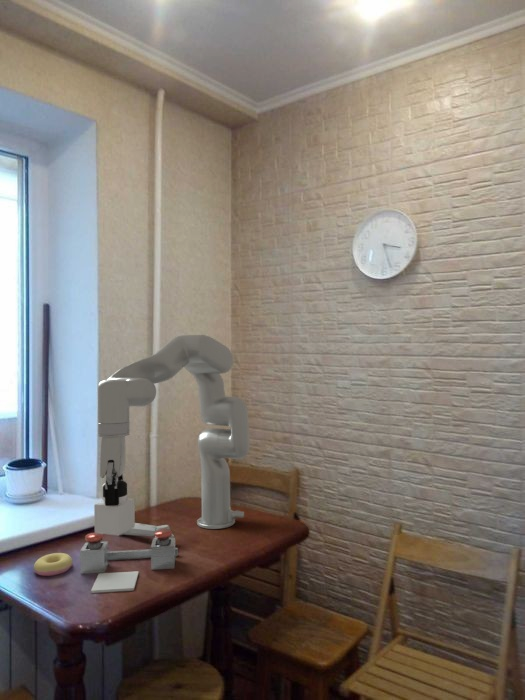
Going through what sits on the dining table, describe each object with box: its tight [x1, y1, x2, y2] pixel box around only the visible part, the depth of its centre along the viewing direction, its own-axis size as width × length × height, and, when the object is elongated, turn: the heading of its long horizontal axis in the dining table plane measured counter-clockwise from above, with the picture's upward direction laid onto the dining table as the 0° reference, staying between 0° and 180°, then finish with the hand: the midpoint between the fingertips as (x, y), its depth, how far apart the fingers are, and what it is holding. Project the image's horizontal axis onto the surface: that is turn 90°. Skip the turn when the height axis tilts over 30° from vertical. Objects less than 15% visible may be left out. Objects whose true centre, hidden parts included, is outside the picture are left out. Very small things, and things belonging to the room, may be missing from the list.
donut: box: [33, 552, 73, 577], centre depth 142 cm, size 10×5×9 cm
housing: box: [79, 537, 179, 575], centre depth 145 cm, size 25×10×6 cm, turn 97°
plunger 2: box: [154, 529, 173, 545], centre depth 144 cm, size 5×5×8 cm
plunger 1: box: [84, 532, 104, 549], centre depth 142 cm, size 5×5×8 cm
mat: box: [90, 570, 139, 594], centre depth 133 cm, size 10×10×1 cm
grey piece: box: [120, 522, 175, 539], centre depth 164 cm, size 5×7×25 cm
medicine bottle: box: [93, 480, 136, 536], centre depth 133 cm, size 7×7×12 cm
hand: (114, 500), depth 133 cm, fingers closed on medicine bottle, 7 cm apart
